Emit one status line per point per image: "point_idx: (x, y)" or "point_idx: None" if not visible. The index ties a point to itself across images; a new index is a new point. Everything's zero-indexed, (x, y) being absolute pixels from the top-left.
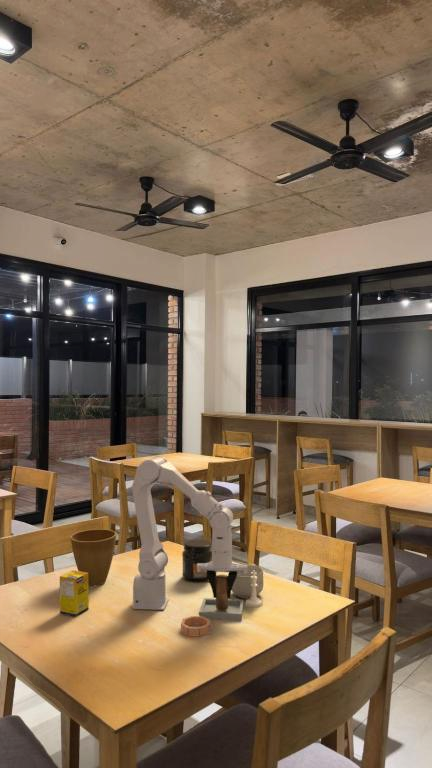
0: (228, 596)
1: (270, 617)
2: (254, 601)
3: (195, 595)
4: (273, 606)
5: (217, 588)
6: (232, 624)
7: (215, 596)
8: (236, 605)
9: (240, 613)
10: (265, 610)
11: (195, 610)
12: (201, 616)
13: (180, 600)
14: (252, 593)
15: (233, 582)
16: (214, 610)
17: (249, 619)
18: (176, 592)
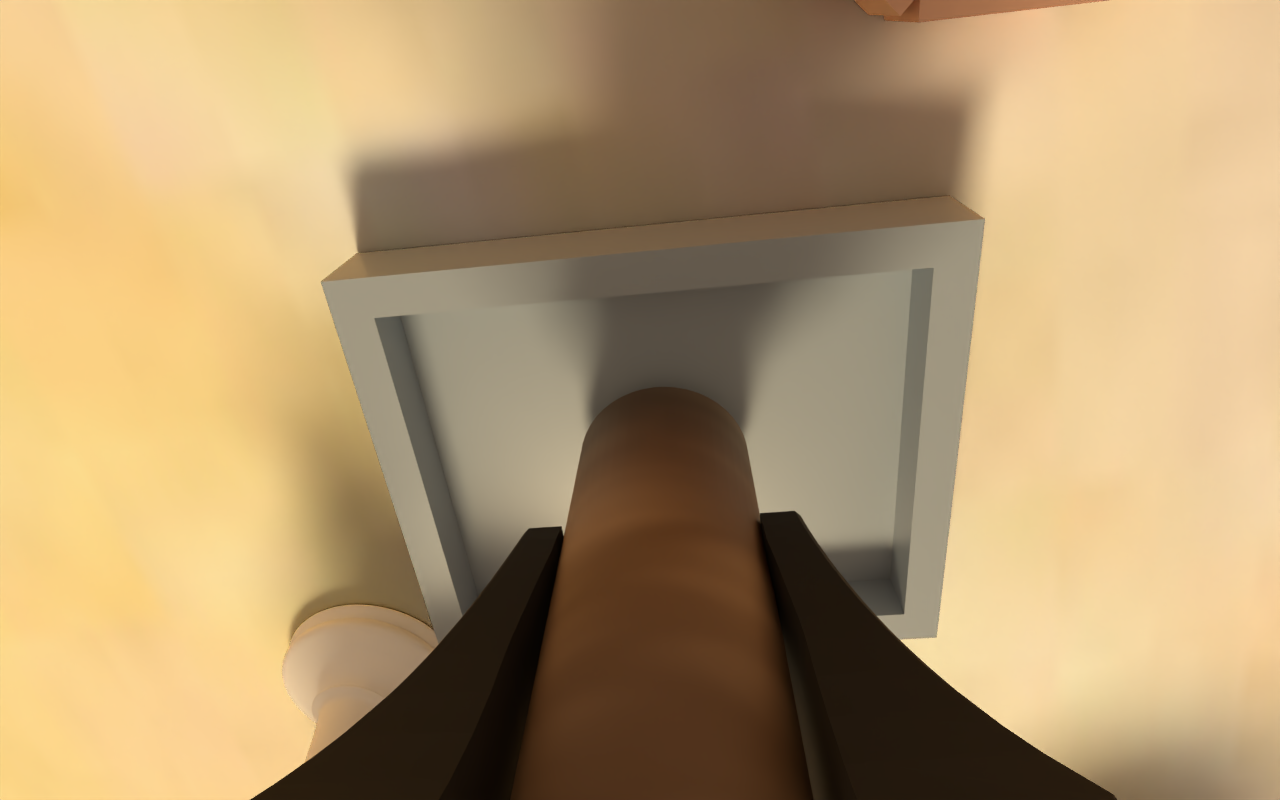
0: (543, 543)
1: (62, 401)
2: (341, 669)
3: None
4: (164, 641)
5: (742, 612)
6: (437, 97)
7: (768, 522)
8: None
9: (342, 292)
10: (199, 551)
11: (1011, 423)
12: (942, 11)
13: (1196, 628)
14: None
15: (332, 744)
16: (761, 418)
17: (274, 301)
18: (1227, 773)
